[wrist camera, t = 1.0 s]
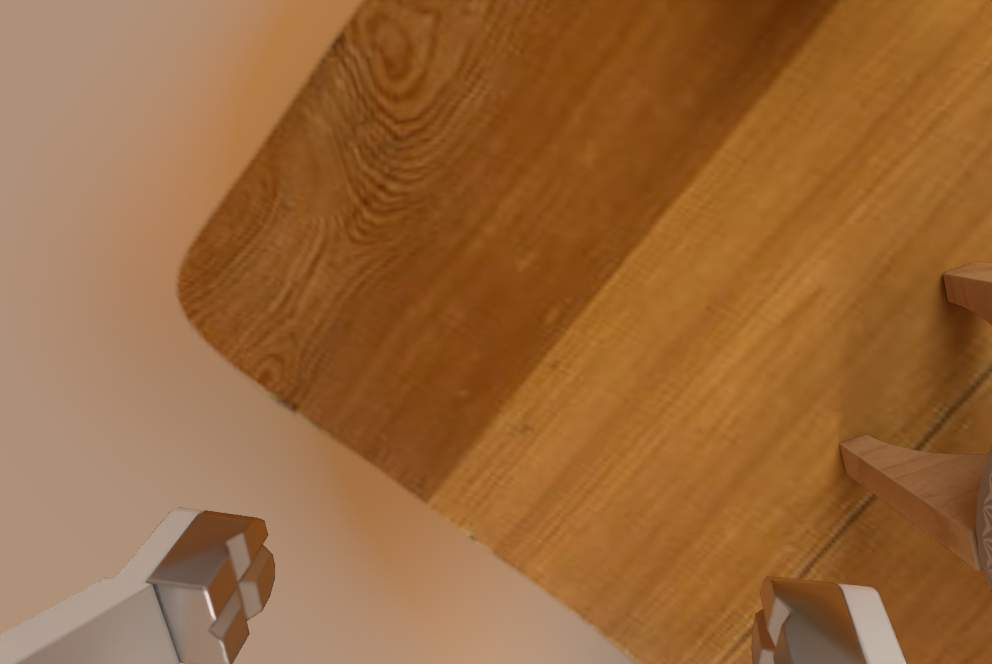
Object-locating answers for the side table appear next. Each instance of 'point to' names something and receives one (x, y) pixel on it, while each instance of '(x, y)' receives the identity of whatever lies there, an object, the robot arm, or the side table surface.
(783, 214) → the side table surface
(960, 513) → the planter
